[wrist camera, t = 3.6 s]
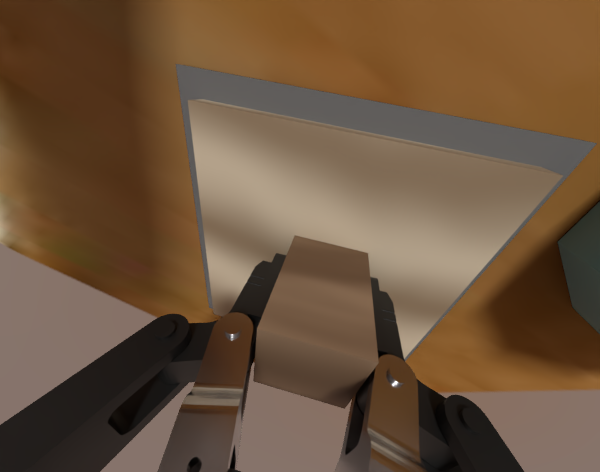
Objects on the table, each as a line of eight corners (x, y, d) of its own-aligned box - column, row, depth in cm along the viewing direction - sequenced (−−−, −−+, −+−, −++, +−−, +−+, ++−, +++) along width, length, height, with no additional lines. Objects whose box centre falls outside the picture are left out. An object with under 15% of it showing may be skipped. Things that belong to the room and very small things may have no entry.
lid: (203, 99, 9) (15, 108, 4) (541, 166, 8) (860, 292, 3) (220, 302, 16) (163, 394, 11) (395, 351, 15) (416, 474, 10)
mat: (182, 65, 9) (175, 63, 8) (586, 141, 8) (596, 143, 7) (212, 303, 17) (209, 307, 17) (403, 356, 16) (404, 361, 16)
